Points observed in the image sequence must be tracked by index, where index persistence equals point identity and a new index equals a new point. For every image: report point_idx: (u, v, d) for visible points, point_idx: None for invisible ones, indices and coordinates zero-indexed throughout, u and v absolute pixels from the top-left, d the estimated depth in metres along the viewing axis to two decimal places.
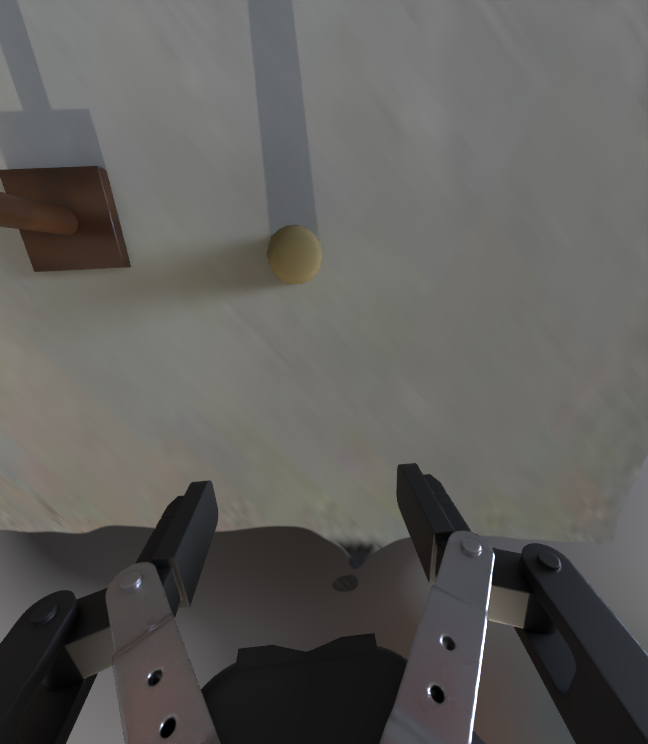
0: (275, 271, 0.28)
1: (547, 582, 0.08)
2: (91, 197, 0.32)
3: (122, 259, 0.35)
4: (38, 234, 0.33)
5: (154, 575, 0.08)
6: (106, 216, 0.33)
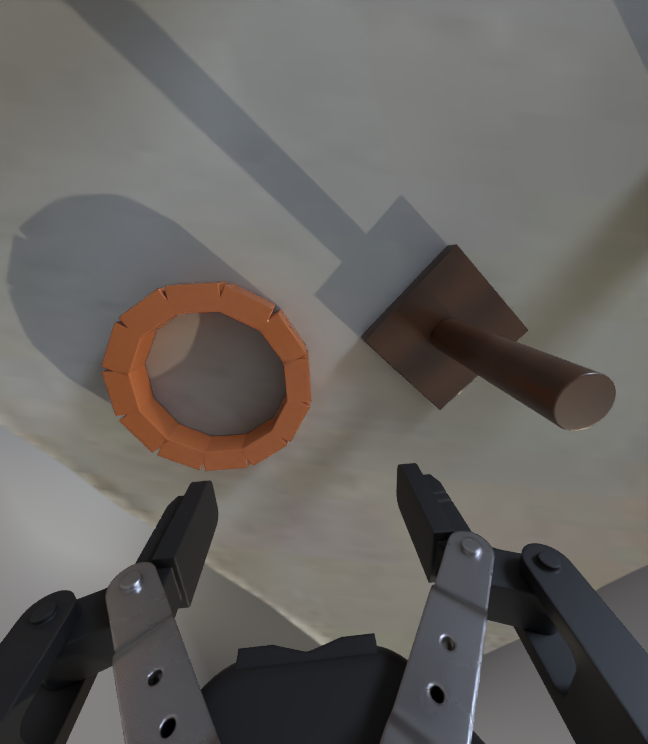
0: None
1: (547, 582, 0.08)
2: (464, 285, 0.24)
3: (522, 323, 0.25)
4: (428, 370, 0.26)
5: (154, 575, 0.08)
6: (488, 291, 0.24)
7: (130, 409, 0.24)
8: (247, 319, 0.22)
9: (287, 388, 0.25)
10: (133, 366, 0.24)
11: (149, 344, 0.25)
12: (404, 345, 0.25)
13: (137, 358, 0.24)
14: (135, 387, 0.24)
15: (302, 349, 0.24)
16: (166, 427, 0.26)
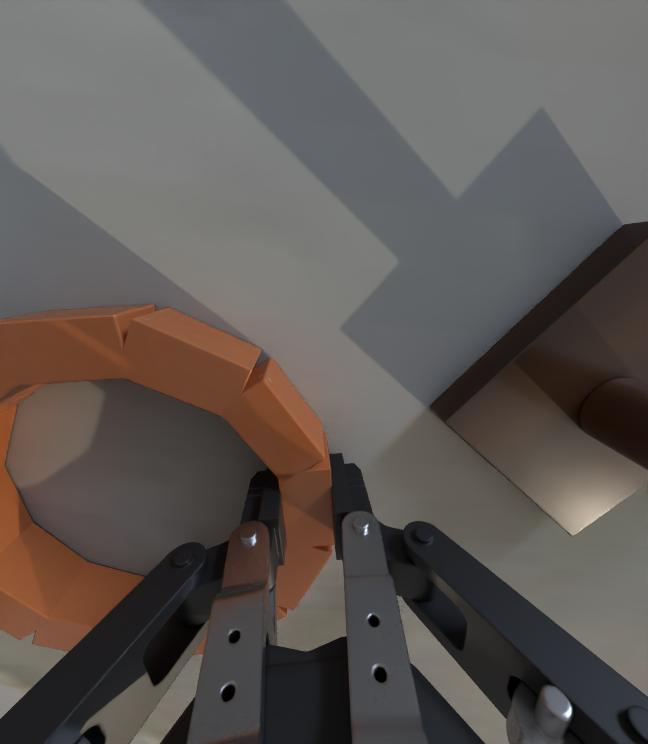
0: None
1: (415, 553, 0.09)
2: None
3: None
4: (563, 472, 0.13)
5: (266, 531, 0.09)
6: None
7: None
8: (193, 394, 0.10)
9: (286, 524, 0.12)
10: None
11: (2, 433, 0.12)
12: (522, 430, 0.12)
13: None
14: None
15: (318, 451, 0.11)
16: (51, 587, 0.13)
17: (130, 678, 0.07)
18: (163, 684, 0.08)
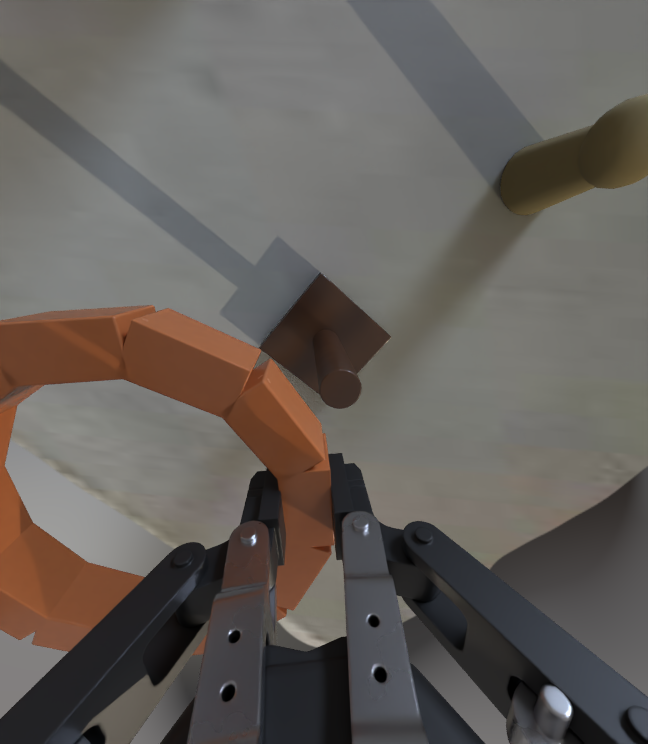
0: (626, 179, 0.20)
1: (416, 553, 0.09)
2: (332, 303, 0.31)
3: (385, 332, 0.32)
4: (315, 370, 0.33)
5: (266, 531, 0.09)
6: (353, 307, 0.31)
7: None
8: (192, 395, 0.10)
9: (286, 524, 0.12)
10: None
11: (2, 434, 0.12)
12: (292, 351, 0.32)
13: None
14: None
15: (317, 451, 0.11)
16: (51, 588, 0.13)
17: (130, 678, 0.07)
18: (163, 683, 0.08)
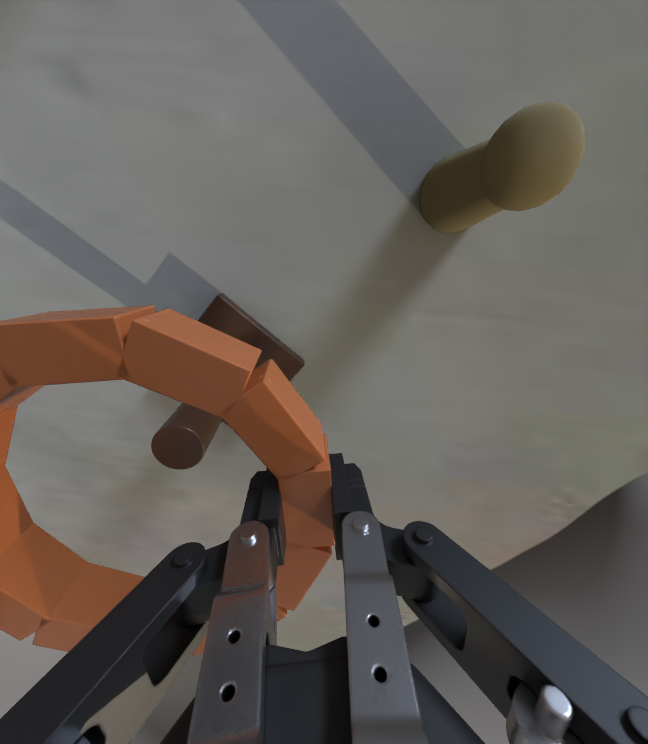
0: (527, 201, 0.17)
1: (416, 553, 0.09)
2: (234, 328, 0.27)
3: (298, 359, 0.29)
4: None
5: (266, 531, 0.09)
6: (258, 333, 0.28)
7: None
8: (193, 395, 0.10)
9: (286, 524, 0.12)
10: None
11: (2, 434, 0.12)
12: None
13: None
14: None
15: (318, 452, 0.11)
16: (51, 588, 0.13)
17: (130, 678, 0.07)
18: (163, 683, 0.08)
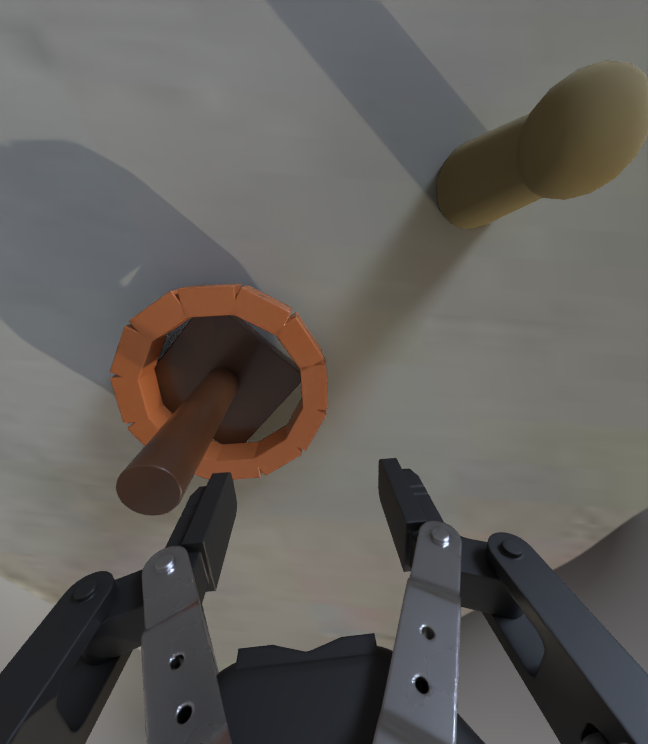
0: (578, 186, 0.14)
1: (508, 568, 0.08)
2: (226, 336, 0.24)
3: (298, 371, 0.26)
4: None
5: (186, 557, 0.09)
6: (252, 341, 0.24)
7: (139, 416, 0.23)
8: (263, 323, 0.21)
9: (303, 395, 0.24)
10: (143, 372, 0.22)
11: (159, 348, 0.24)
12: (180, 393, 0.26)
13: (147, 363, 0.22)
14: (145, 394, 0.23)
15: (320, 354, 0.23)
16: None
17: (44, 731, 0.06)
18: (84, 727, 0.07)
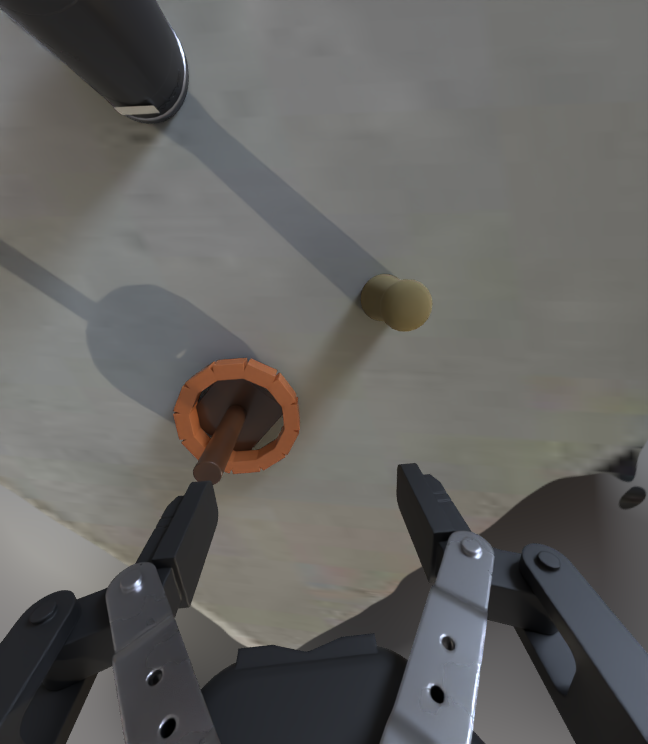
0: (404, 330, 0.30)
1: (547, 582, 0.08)
2: (238, 387, 0.41)
3: None
4: None
5: (154, 575, 0.08)
6: (254, 389, 0.41)
7: (188, 435, 0.40)
8: (260, 382, 0.38)
9: (284, 422, 0.40)
10: (191, 410, 0.39)
11: (199, 395, 0.40)
12: (210, 420, 0.42)
13: (193, 405, 0.39)
14: (192, 422, 0.39)
15: (293, 399, 0.39)
16: None
17: None
18: None
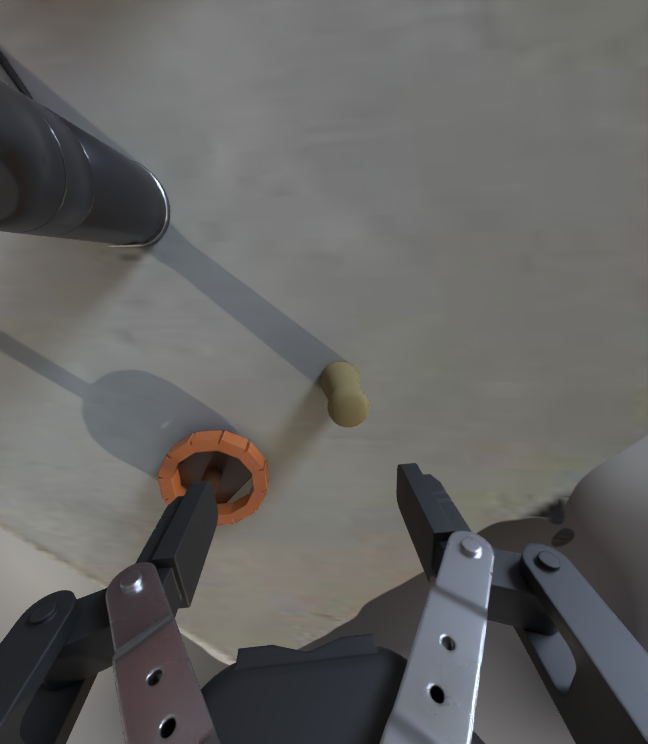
0: None
1: (547, 582, 0.08)
2: (215, 452, 0.47)
3: None
4: None
5: (154, 575, 0.08)
6: None
7: (170, 495, 0.46)
8: (232, 453, 0.44)
9: (254, 484, 0.46)
10: (173, 474, 0.45)
11: None
12: (191, 479, 0.48)
13: (175, 470, 0.45)
14: (174, 484, 0.46)
15: (261, 466, 0.45)
16: None
17: None
18: None
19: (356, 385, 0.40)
